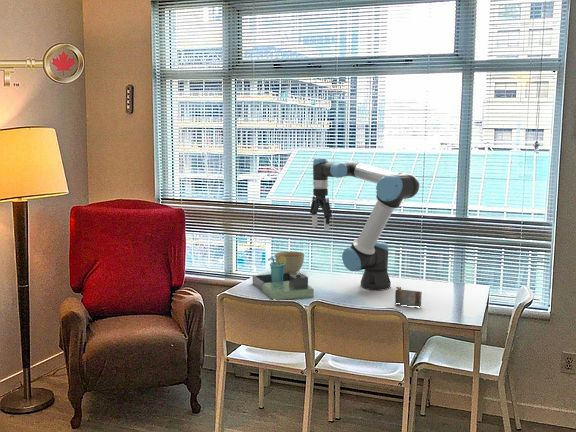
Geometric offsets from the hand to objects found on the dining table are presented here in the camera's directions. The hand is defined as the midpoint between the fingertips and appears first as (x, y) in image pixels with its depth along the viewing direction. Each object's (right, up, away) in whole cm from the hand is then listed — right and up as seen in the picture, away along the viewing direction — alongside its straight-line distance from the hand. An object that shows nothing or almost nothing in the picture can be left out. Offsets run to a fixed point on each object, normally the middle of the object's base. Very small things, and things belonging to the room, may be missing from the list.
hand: (320, 228), depth 335 cm
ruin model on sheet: (+37, -35, -42) cm, 66 cm away
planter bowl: (-16, -25, +20) cm, 36 cm away
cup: (-23, -28, -8) cm, 37 cm away
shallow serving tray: (-20, -30, -15) cm, 39 cm away
